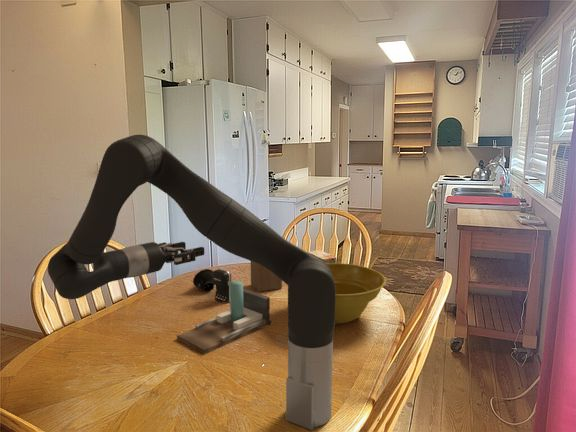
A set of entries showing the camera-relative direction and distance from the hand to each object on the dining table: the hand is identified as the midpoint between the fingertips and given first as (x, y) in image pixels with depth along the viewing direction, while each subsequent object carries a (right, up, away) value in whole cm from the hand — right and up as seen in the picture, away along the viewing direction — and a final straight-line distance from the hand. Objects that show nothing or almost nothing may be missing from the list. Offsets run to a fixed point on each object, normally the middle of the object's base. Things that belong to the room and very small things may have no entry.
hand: (193, 247), depth 117 cm
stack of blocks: (+37, -18, +61) cm, 73 cm away
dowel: (+10, -24, +16) cm, 31 cm away
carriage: (+11, -24, +17) cm, 31 cm away
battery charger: (+2, -22, +37) cm, 43 cm away
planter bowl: (+41, -24, +25) cm, 54 cm away
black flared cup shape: (-7, -19, +53) cm, 57 cm away
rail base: (+7, -26, +13) cm, 30 cm away
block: (+17, -19, +52) cm, 58 cm away
